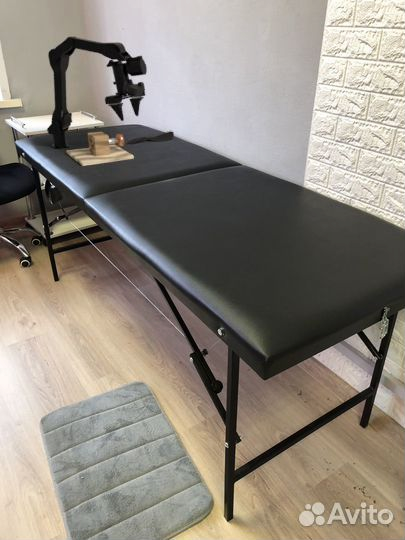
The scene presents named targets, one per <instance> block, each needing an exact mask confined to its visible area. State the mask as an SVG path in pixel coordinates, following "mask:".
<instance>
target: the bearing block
mask: <svg viewBox="0 0 405 540" xmlns="http://www.w3.org/2000/svg"><path fill="white" fill-rule="evenodd" d="M109 139H110V137H109V135H108V134H106V133H105V132H103V131H94V132H87V141H88V147H84V148H76V149H71V150H70V149H69V150H68V149H67V150H66V155H68V156H69V157H71V158H72V159H73V160H74V161H76V162H77V163H78V164H80V165H81V166H82V167H83V166H91V165H92V166H93V165H99V164H105V163H106V164H107V163H113V162H118V161H127V160H134V158H135V156H134V155H133V154H132V153H130V152H128V151H126V150H124V149H123V148H121V146H120V147H118V146H117V144H110V145H109ZM92 141H93V145H92Z"/></svg>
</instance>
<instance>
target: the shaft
mask: <svg viewBox="0 0 405 540" xmlns="http://www.w3.org/2000/svg"><path fill="white" fill-rule="evenodd" d="M92 145H93V141H92ZM109 145H116V146H118V147H120V148H121V147H124V146H125V136H124V135H123V134H122V133H118V134H115V137H112V138H110V137H109Z"/></svg>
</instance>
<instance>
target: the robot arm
mask: <svg viewBox="0 0 405 540" xmlns="http://www.w3.org/2000/svg"><path fill="white" fill-rule="evenodd" d="M76 50H81V51H85V52H89V53H97V54H99V55H101V56H104V57H105V58H107V59H109V61H108V63H107V64H106V68H109V67H110V68H111V69H112V74H113V78H114V81H112V83H113V85H115V87H116V92H115V94H112V95H111V94H110V95H108V96H105V98H104V102H105V105H108V107H110V108H111V109H112V110H113V111H114V112H115V114H116V115H117V117H118V118H119V119H120V121H121V122H124V112H123V105H124V102H122V101H123V100H126V99H127V100H128V99H129V102H130V104H131V108H132V110H133V113H134V115H135V116H136V117H138V116H139V113H140V106H141V105H140V104H141V102H142V100H143V99H145V98H144V97H145V96H146V89H145V83H144V82H143V81H138V82H137V83H134V81H133V80H132V79H133V78H132V79H131V78H130V77H138V76H143V75H145V76H146V75H147V72H148V71H147V69H148V68H147V64H146V61H145V60H144V59H143V56H142V55H138V56H135V57H132V56H131V55H130V53H129V52H128V51H127V50H126V46H125V45H124V44H123V43H122V42H119V41H118V42H100V41H96V40H90V39H85V38H81V37H77V36H68V37H66V38H65V39H64V40H63V42H61V43H59V44H58V45H57V46H55V48H51V49H49V51H48V54H47V55H48V61H49V67H50V68H51V70H52V72H53V90H54V94H53V95H54V96H53V97H54V110H53V112H52V115H51V124H50V125H49V126H48V127H47V128H46V131H47V133H48V134H49V135H51V136H52V144H50V145H51V147H52V148H54V149H66V148H70V147H71V146H70V145H69V144H68V142H67V135H66V132H69V128H70V126H71V125H72V123H73V119H72V118H73V117H72V116H73V113H72V112H69V111H68V107H67V105H68V104H67V70H68V68H69V64H70V57H71V56H72V55H74V53H75V51H76ZM115 60H116V61H115ZM129 75H130V76H129Z"/></svg>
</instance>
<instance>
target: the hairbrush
mask: <svg viewBox="0 0 405 540" xmlns="http://www.w3.org/2000/svg"><path fill="white" fill-rule="evenodd" d="M147 136H148V137H147ZM147 136H142V137H136V138H132V139H130V140H128V141H127V142H126V144H127V145H134V144H136V143H138V142H141V141H145V140H148V141H150V142H155V143H156V142H167V141H168V142H169V141H171V139H173V138H174V136H175V133H174V130H171V131H169V130H166V131H165V130H164V132H163V133H158V134H156V135H153V134H151V135H150V134H149V135H147Z"/></svg>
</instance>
